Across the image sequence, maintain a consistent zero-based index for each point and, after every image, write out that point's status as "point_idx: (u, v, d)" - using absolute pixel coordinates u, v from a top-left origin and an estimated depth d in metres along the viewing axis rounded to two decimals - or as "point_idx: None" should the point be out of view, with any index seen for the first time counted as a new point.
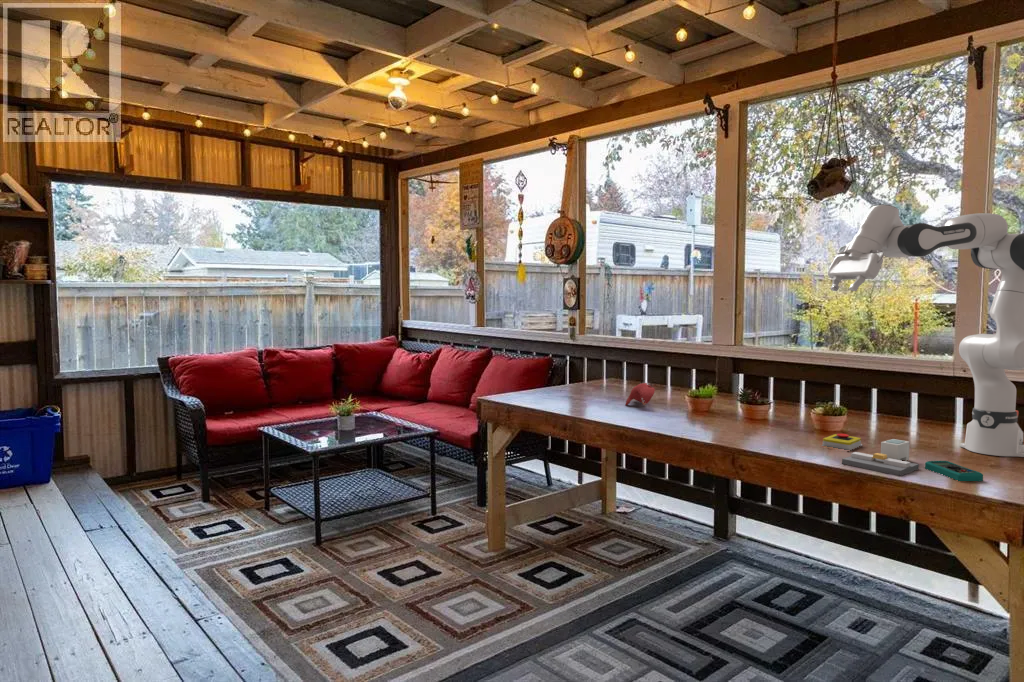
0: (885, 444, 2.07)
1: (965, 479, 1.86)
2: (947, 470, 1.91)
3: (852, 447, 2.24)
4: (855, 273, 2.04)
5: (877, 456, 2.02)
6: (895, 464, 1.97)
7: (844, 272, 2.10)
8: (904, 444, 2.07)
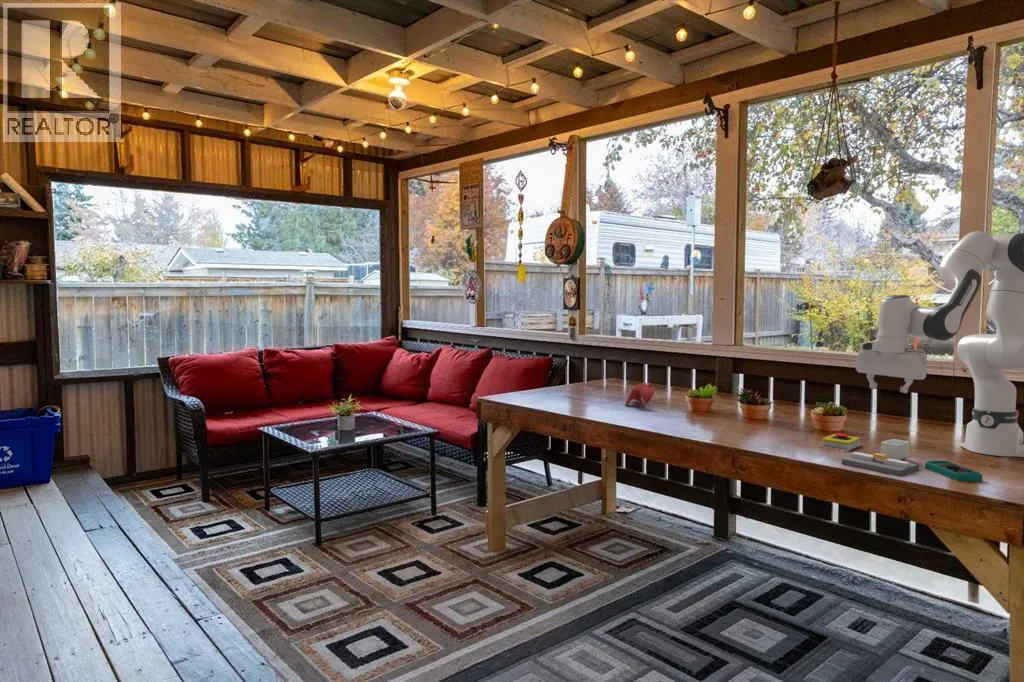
0: (885, 444, 2.07)
1: (964, 479, 1.86)
2: (946, 470, 1.91)
3: (851, 447, 2.24)
4: (902, 376, 2.02)
5: (877, 456, 2.02)
6: (895, 464, 1.97)
7: (883, 373, 2.07)
8: (904, 444, 2.07)
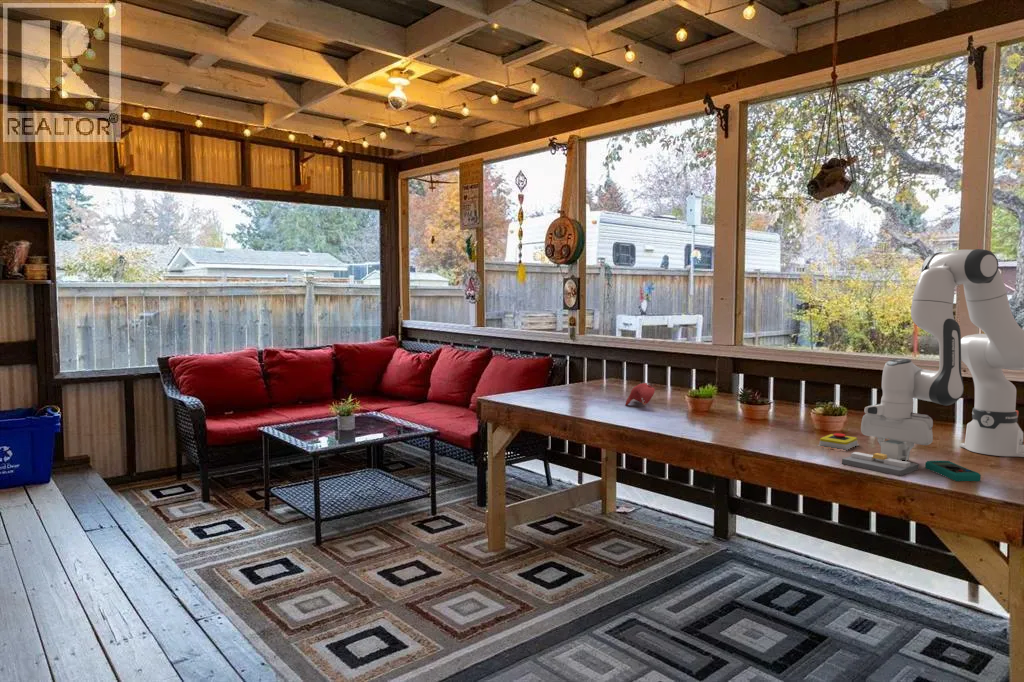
0: (885, 444, 2.07)
1: (961, 479, 1.86)
2: (944, 470, 1.91)
3: (848, 447, 2.24)
4: (909, 441, 2.04)
5: (877, 456, 2.02)
6: (895, 464, 1.97)
7: (889, 437, 2.08)
8: (904, 444, 2.07)
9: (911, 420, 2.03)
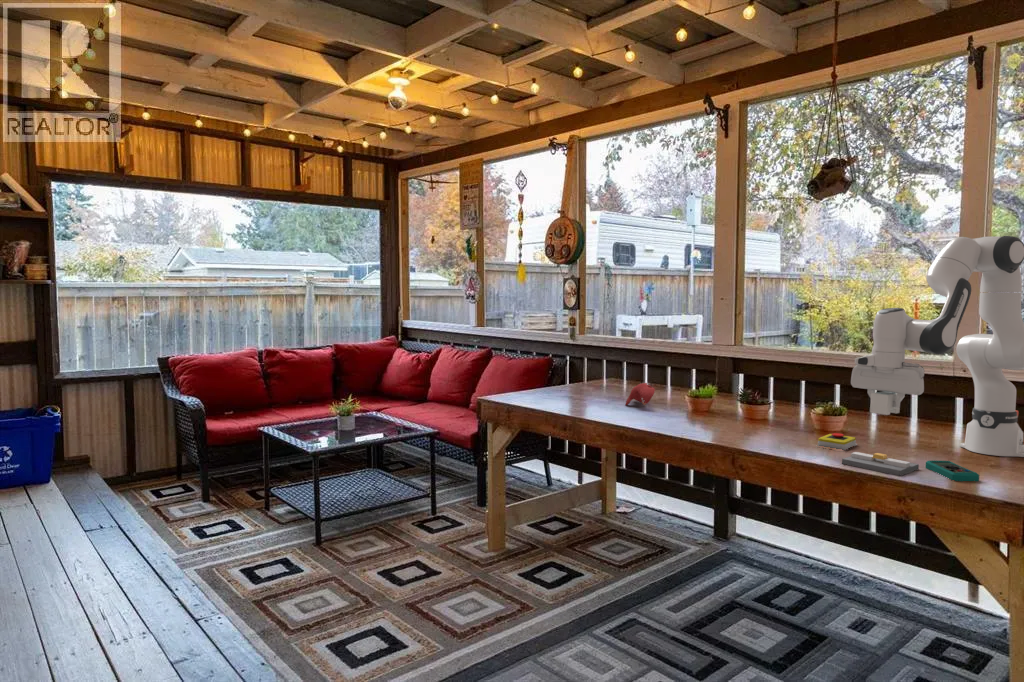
0: (875, 395, 2.02)
1: (959, 478, 1.86)
2: (943, 469, 1.91)
3: (847, 446, 2.24)
4: (899, 392, 1.98)
5: (877, 456, 2.02)
6: (895, 464, 1.97)
7: (879, 388, 2.03)
8: (894, 395, 2.01)
9: (902, 369, 1.97)
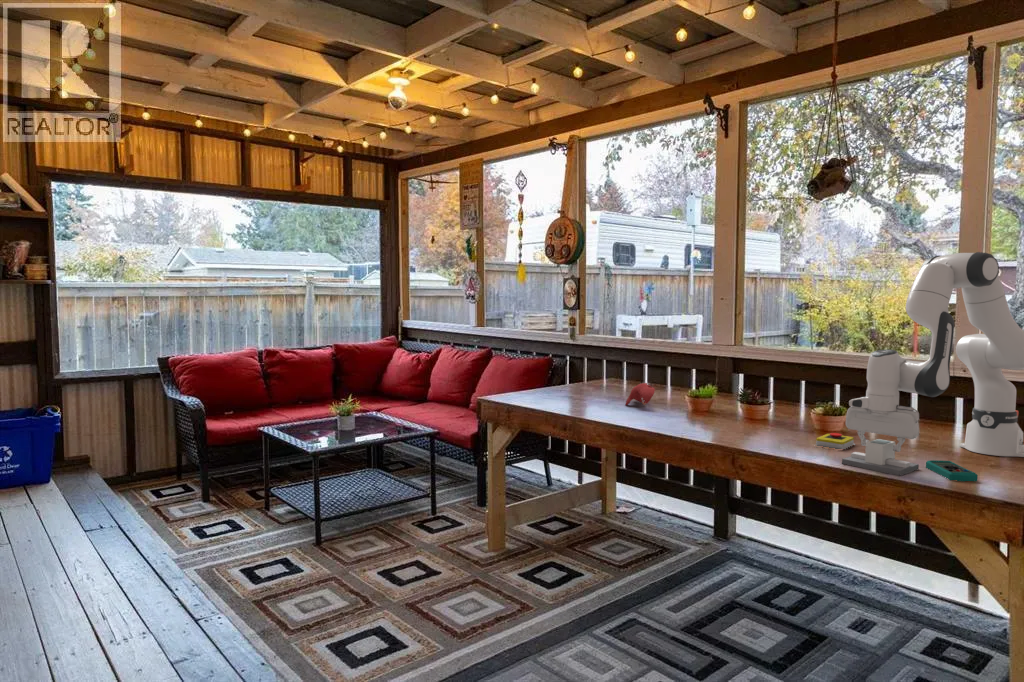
0: (870, 444, 2.00)
1: (956, 478, 1.86)
2: (942, 469, 1.92)
3: (845, 446, 2.25)
4: (894, 435, 1.97)
5: None
6: (895, 464, 1.97)
7: (874, 430, 2.01)
8: (889, 444, 2.00)
9: (897, 413, 1.96)
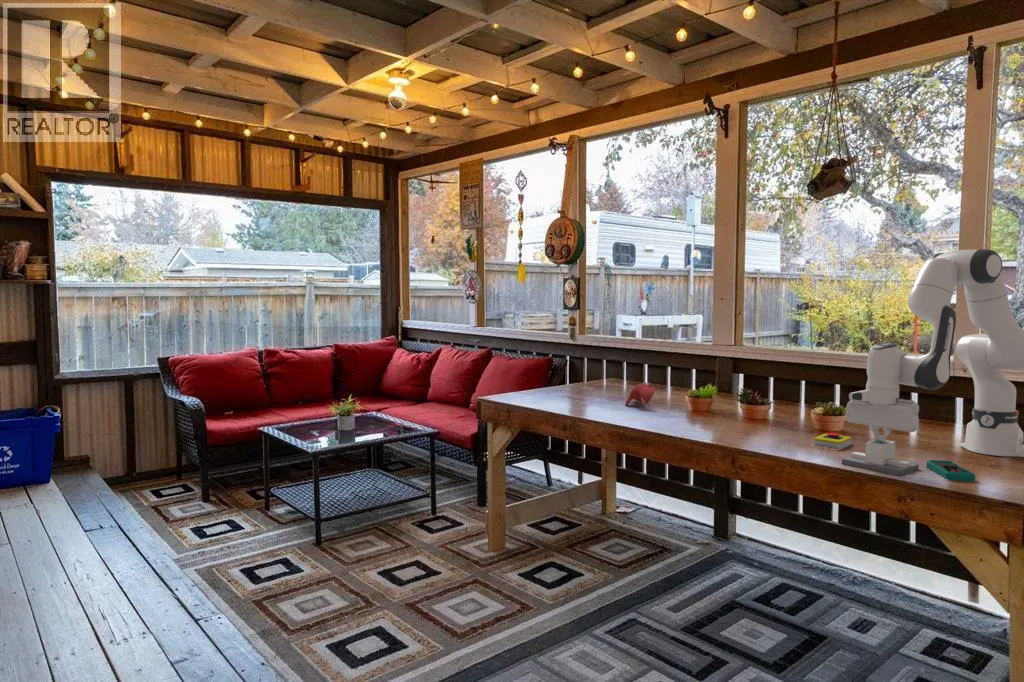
0: (870, 444, 2.00)
1: (953, 478, 1.87)
2: (940, 469, 1.92)
3: (842, 446, 2.25)
4: (894, 428, 1.97)
5: None
6: (895, 464, 1.97)
7: (874, 424, 2.01)
8: (889, 444, 2.00)
9: (897, 406, 1.96)
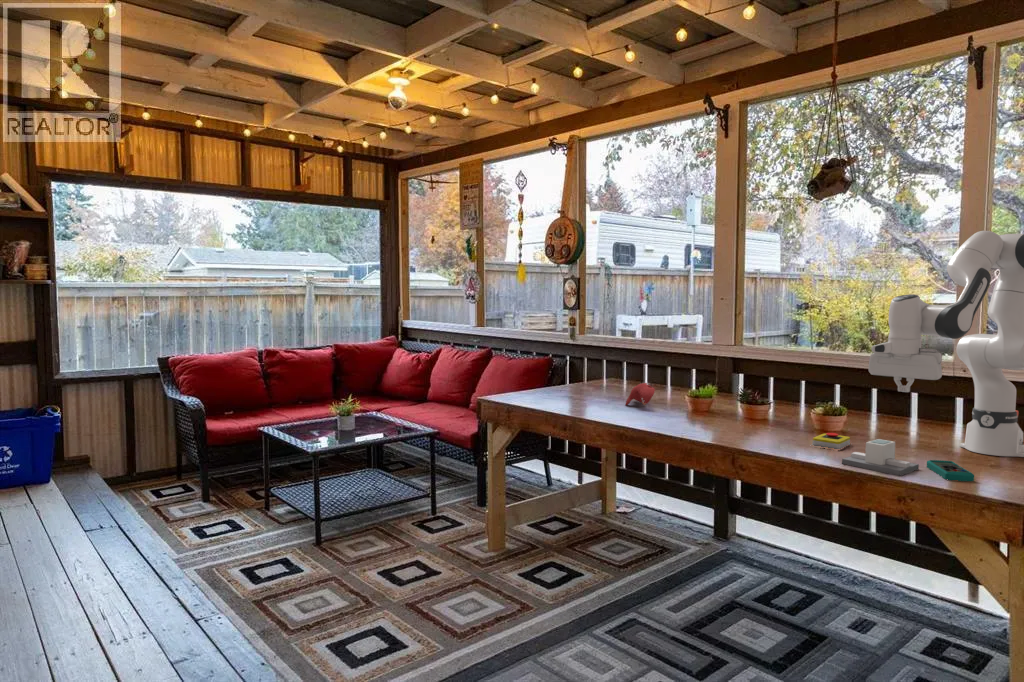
0: (870, 444, 2.00)
1: (952, 478, 1.87)
2: (939, 469, 1.92)
3: (841, 446, 2.25)
4: (917, 377, 2.01)
5: None
6: (895, 464, 1.97)
7: (897, 374, 2.05)
8: (889, 444, 2.00)
9: (919, 355, 2.00)
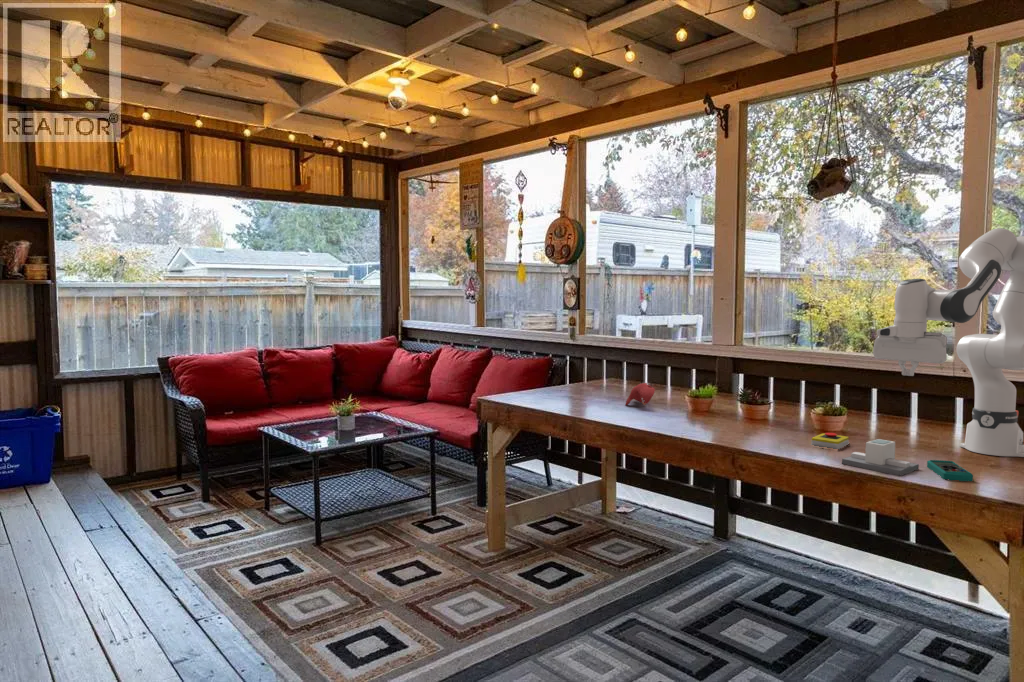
0: (870, 444, 2.00)
1: (950, 478, 1.87)
2: (938, 468, 1.93)
3: (840, 446, 2.25)
4: (922, 361, 2.02)
5: None
6: (895, 464, 1.97)
7: (902, 358, 2.06)
8: (889, 444, 2.00)
9: (925, 339, 2.01)
